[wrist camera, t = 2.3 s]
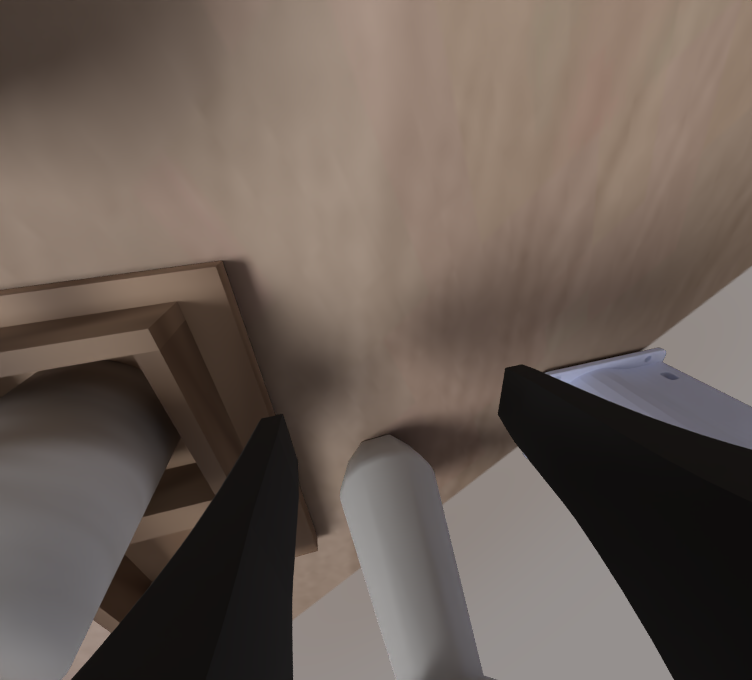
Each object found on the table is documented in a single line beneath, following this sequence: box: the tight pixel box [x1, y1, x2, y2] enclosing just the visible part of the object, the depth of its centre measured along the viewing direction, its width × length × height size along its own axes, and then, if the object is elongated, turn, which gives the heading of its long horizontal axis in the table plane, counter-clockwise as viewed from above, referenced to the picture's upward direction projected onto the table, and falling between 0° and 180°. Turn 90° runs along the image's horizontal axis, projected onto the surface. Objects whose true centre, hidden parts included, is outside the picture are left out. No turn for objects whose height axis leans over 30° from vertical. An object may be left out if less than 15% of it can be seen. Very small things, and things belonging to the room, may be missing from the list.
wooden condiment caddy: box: [0, 261, 318, 680], centre depth 12 cm, size 13×21×9 cm, turn 5°
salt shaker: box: [340, 434, 496, 680], centre depth 14 cm, size 6×6×13 cm
